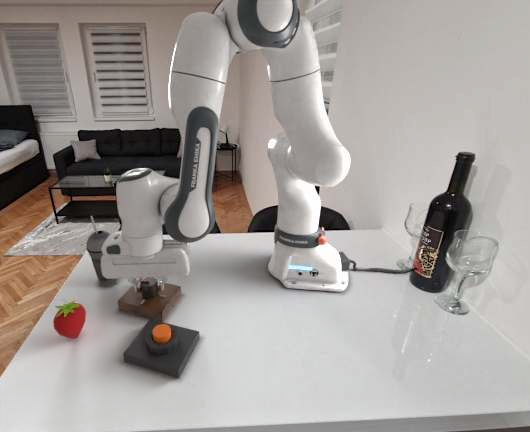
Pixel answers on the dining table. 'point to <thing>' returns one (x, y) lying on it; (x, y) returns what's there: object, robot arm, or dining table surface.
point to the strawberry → (69, 319)
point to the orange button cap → (161, 333)
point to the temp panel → (150, 302)
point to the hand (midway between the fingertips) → (149, 289)
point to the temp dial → (149, 287)
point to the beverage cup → (98, 254)
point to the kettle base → (162, 349)
